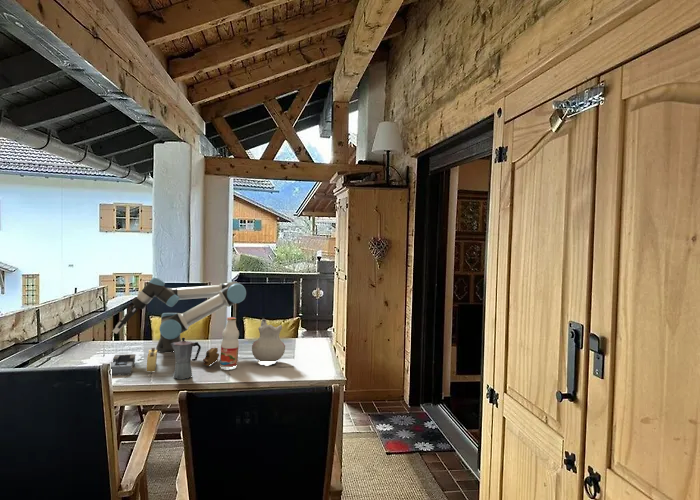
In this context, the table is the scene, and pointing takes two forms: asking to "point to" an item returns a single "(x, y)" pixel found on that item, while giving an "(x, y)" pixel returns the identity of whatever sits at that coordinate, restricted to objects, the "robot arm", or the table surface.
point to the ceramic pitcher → (268, 343)
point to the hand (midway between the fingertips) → (115, 330)
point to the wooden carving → (211, 356)
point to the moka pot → (184, 358)
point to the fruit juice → (229, 344)
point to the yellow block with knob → (151, 360)
